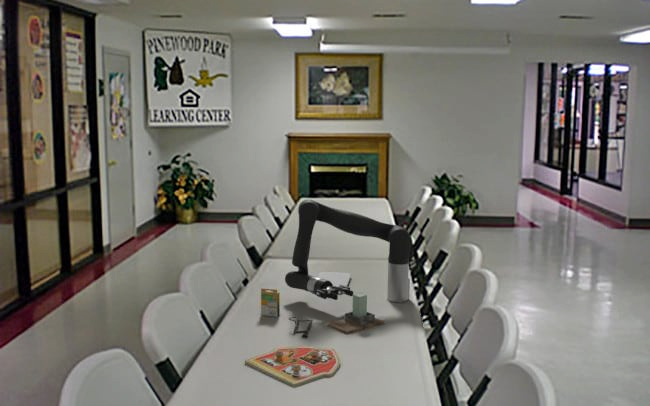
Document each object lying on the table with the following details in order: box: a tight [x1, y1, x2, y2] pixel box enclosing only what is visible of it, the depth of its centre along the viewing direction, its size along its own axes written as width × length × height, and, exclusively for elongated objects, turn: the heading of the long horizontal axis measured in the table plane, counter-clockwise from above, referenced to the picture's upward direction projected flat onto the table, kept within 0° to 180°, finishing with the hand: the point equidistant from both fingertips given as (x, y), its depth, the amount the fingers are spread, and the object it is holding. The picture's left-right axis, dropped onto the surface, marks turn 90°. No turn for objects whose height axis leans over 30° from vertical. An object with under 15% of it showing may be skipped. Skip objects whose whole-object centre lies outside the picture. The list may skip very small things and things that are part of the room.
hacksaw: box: [288, 316, 314, 339], centre depth 262 cm, size 24×10×2 cm, turn 175°
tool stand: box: [326, 311, 385, 335], centre depth 265 cm, size 20×12×4 cm, turn 129°
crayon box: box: [260, 287, 281, 318], centre depth 276 cm, size 7×3×12 cm, turn 74°
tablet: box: [316, 271, 352, 287], centre depth 327 cm, size 16×26×2 cm, turn 172°
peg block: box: [352, 292, 368, 318], centre depth 266 cm, size 4×4×11 cm
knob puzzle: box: [244, 345, 341, 388], centre depth 226 cm, size 29×30×4 cm
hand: (344, 295), depth 272 cm, fingers open, 8 cm apart
